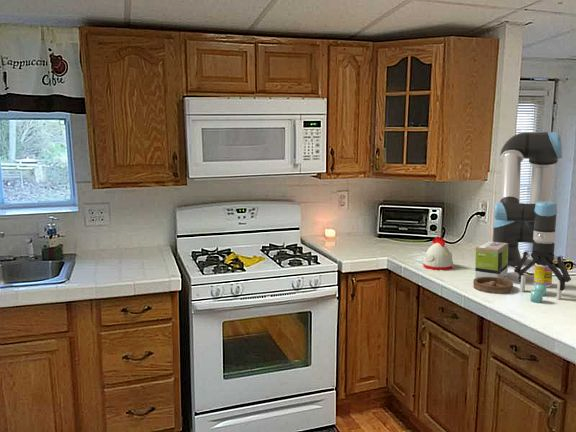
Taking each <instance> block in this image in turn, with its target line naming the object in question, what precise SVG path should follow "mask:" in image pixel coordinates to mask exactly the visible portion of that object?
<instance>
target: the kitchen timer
mask: <svg viewBox="0 0 576 432" xmlns="http://www.w3.org/2000/svg"><path fill="white" fill-rule="evenodd" d="M431 240H432V243H433V244H432V245H430V247H428V249H427V250H426V253H425V254H424V258H423V263H422V265H423V266H422V267H423V268H425V269H427V270H430V269H431V270H432V271H440V270H443V271H450V270H453V269H454V261H453V254H452V252H451V251H450V250H449V249H448V247H447V246H446V245H445V244H446V240H444V237H442V236H438V235H437V236H436V237H434V239H431Z"/></svg>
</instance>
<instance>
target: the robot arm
mask: <svg viewBox="0 0 576 432" xmlns="http://www.w3.org/2000/svg"><path fill="white" fill-rule="evenodd" d="M562 148H563V145H562V137H561V134H560V133H559V132H557V131H556V132H555V131H554V132H552V131H540V132H539V131H538V132H535V131H534V132H520V133H519V132H518V133H516V134H514V135H513V136H511V137H510V138H508V140H506V141H505V143H504V145H503V146H502V148H501V150H500V156H499V160H500V162H501V177H500V179H501V180H500V196H499V202H495V204H494V214H493V216H494V220H493V225H492V228H493V235H492V242H500V243H508V267H510V266H511V267H512V266H516V267H515V268H514V270H513V272H514V273H517V274H518V283H519V284H520V289H519V290H520V291H519V292H524V291H526V281H527V280H526V277H527V274H525V273H526V272H527V271H528V270H530V268H532V267H534V266H535V263H536V264H537V265H543V266H548V267H549V268H550V269H551V270H552V274H554V275H555V277H556V278H557V280H558V281H557V286H556V287H557V288H556V299H557V300H561V298H562V292H563V291H565V287H566V283H569V282H570V281H572V277H571V276H570V274H569V271H568V269H567V266H566V264H565V263H564V256H562V255H559V256H557V255H555V241H556V225H557V217H558V216H557V214H558V205H557V203H556V202H554V201H551V198H552V196H551V195H552V185H553V174H554V166H555V165H556V164H558V163H559V160H560V159H562V158H563V149H562ZM524 159H528V163H529V164H531V182H530V192H529V193H530V194H529V195H530V197H529V203H525V202H524V203H523V202H522V203H521V202H520V199H521V198H520V197H521V196H520V195H521V170H522V167H521V165H522V162H523V160H524ZM519 243H525V244H526V243H527V244H532V252H531V251H529V250H525V251H524V252H523V254H522V255H521V253H520V248H519ZM529 257H531V258H532V260H530V262H528V263H527V265H526V266H524V264H525V263H526V261H527V260H528V259H529ZM554 260H555V262H557V265H558V267H559V269H558V267H557V265H556V264H555V262H554ZM523 266H524V267H523Z"/></svg>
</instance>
